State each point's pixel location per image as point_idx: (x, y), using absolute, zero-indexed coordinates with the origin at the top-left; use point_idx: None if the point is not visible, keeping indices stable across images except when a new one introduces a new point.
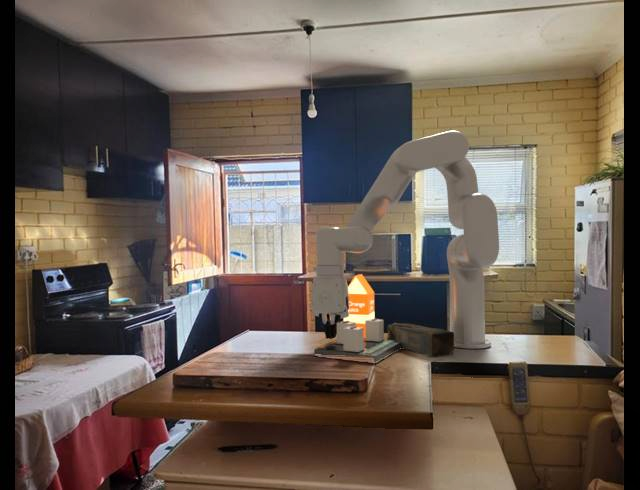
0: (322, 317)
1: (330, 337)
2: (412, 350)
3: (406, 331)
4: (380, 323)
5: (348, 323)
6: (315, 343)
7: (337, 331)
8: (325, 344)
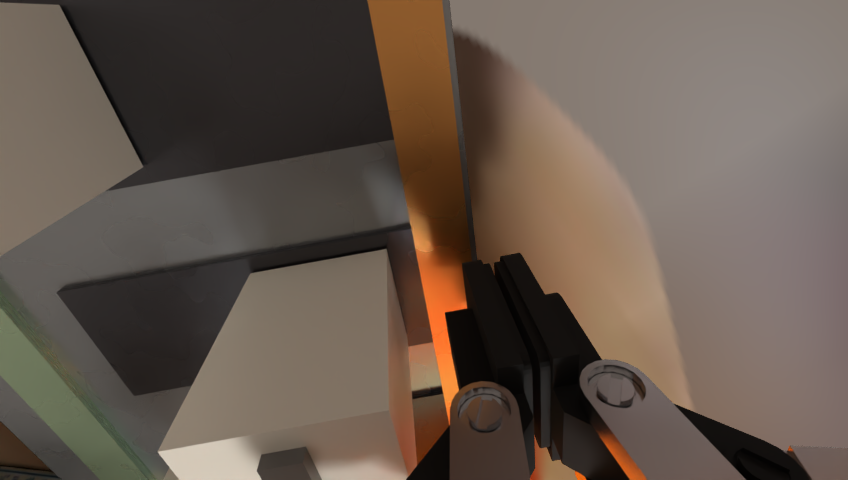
0: (695, 436)
1: (465, 267)
2: (16, 473)
3: None
4: None
5: (210, 461)
6: (665, 316)
7: (377, 322)
8: (443, 143)
